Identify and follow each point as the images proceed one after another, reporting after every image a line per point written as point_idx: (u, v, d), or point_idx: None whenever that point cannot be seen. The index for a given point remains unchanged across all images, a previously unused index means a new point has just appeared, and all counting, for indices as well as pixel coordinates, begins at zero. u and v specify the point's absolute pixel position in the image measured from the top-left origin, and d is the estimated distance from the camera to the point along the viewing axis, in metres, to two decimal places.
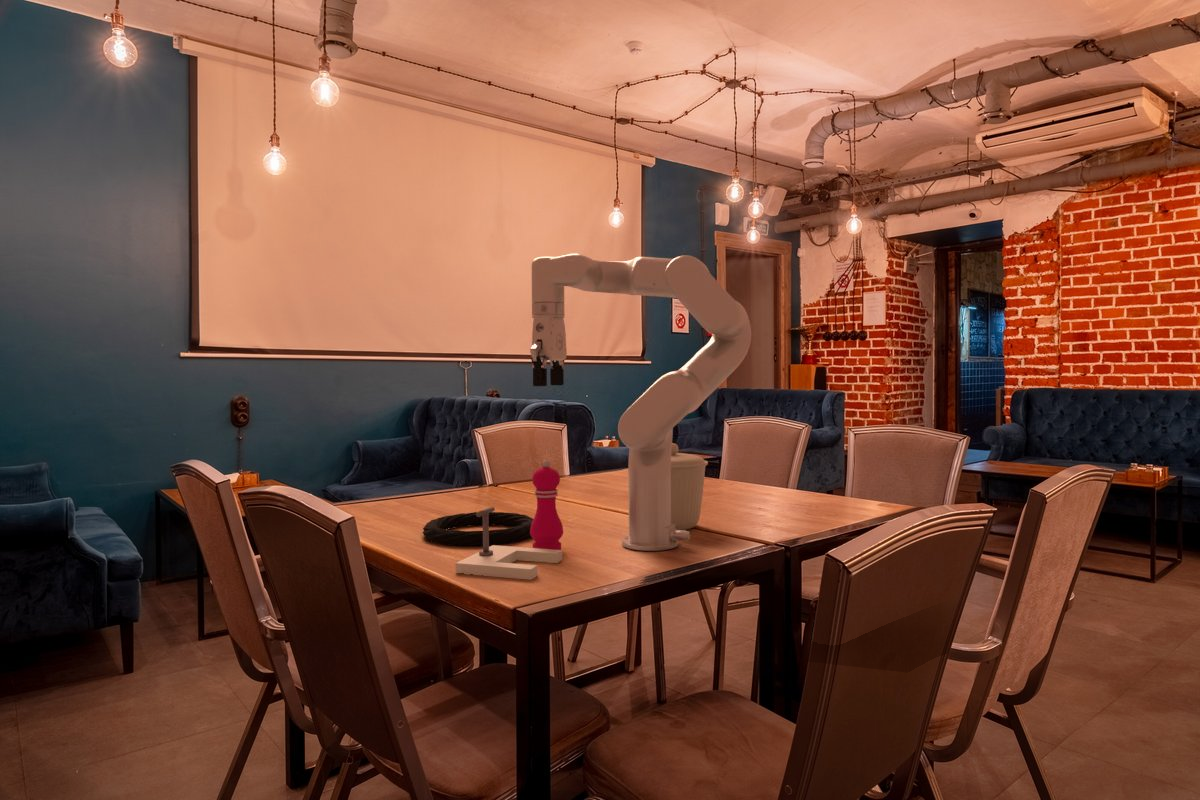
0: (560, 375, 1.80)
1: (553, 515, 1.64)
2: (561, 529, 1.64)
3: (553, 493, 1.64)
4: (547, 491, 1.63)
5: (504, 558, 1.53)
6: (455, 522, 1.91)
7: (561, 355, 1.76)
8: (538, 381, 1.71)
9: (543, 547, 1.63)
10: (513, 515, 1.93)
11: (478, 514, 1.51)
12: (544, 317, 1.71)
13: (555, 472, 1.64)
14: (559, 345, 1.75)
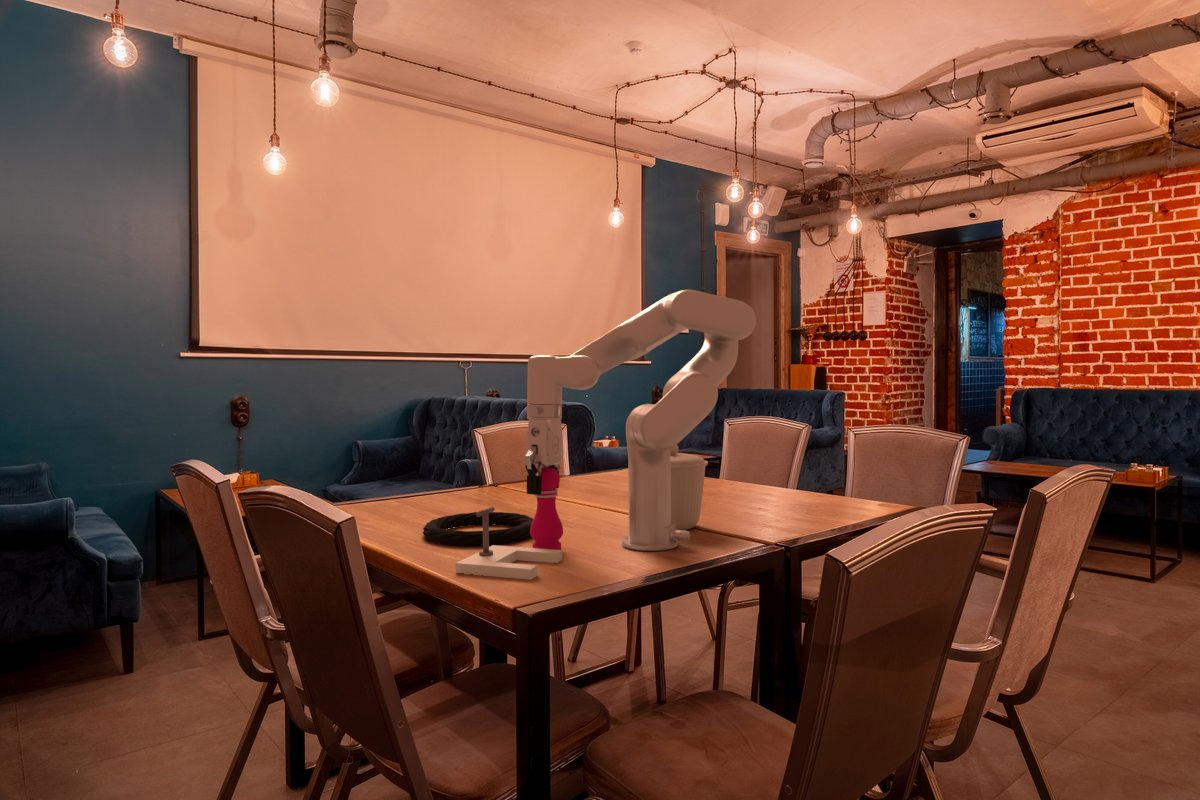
0: None
1: (553, 515, 1.64)
2: (561, 529, 1.64)
3: (553, 493, 1.64)
4: (547, 491, 1.63)
5: (504, 558, 1.53)
6: (455, 522, 1.91)
7: (557, 459, 1.65)
8: (532, 489, 1.60)
9: (543, 547, 1.63)
10: (513, 515, 1.93)
11: (478, 514, 1.51)
12: (540, 421, 1.60)
13: (555, 472, 1.64)
14: (555, 449, 1.64)
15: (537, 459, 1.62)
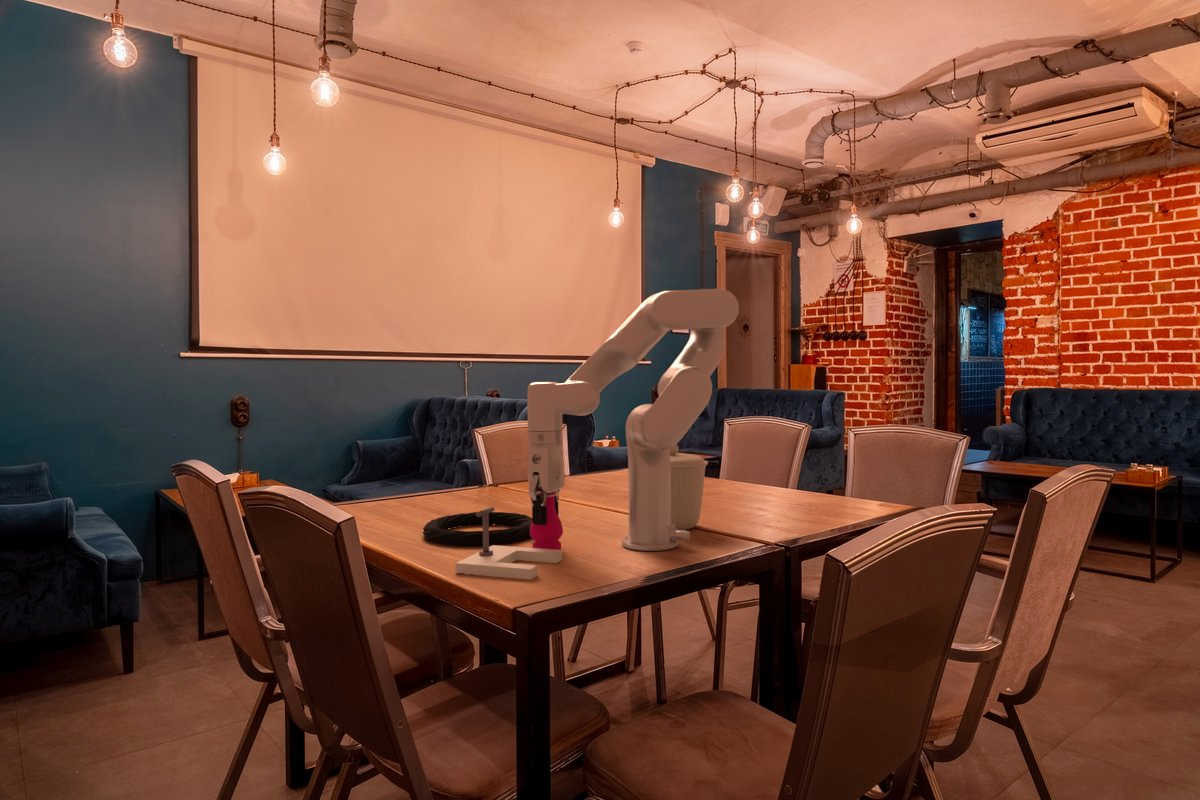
0: None
1: (552, 515, 1.64)
2: (561, 528, 1.64)
3: (552, 492, 1.64)
4: None
5: (504, 558, 1.53)
6: (455, 522, 1.91)
7: (559, 485, 1.65)
8: (538, 520, 1.61)
9: (543, 547, 1.63)
10: (513, 515, 1.93)
11: (478, 514, 1.51)
12: (541, 448, 1.60)
13: None
14: (557, 475, 1.64)
15: (539, 486, 1.62)
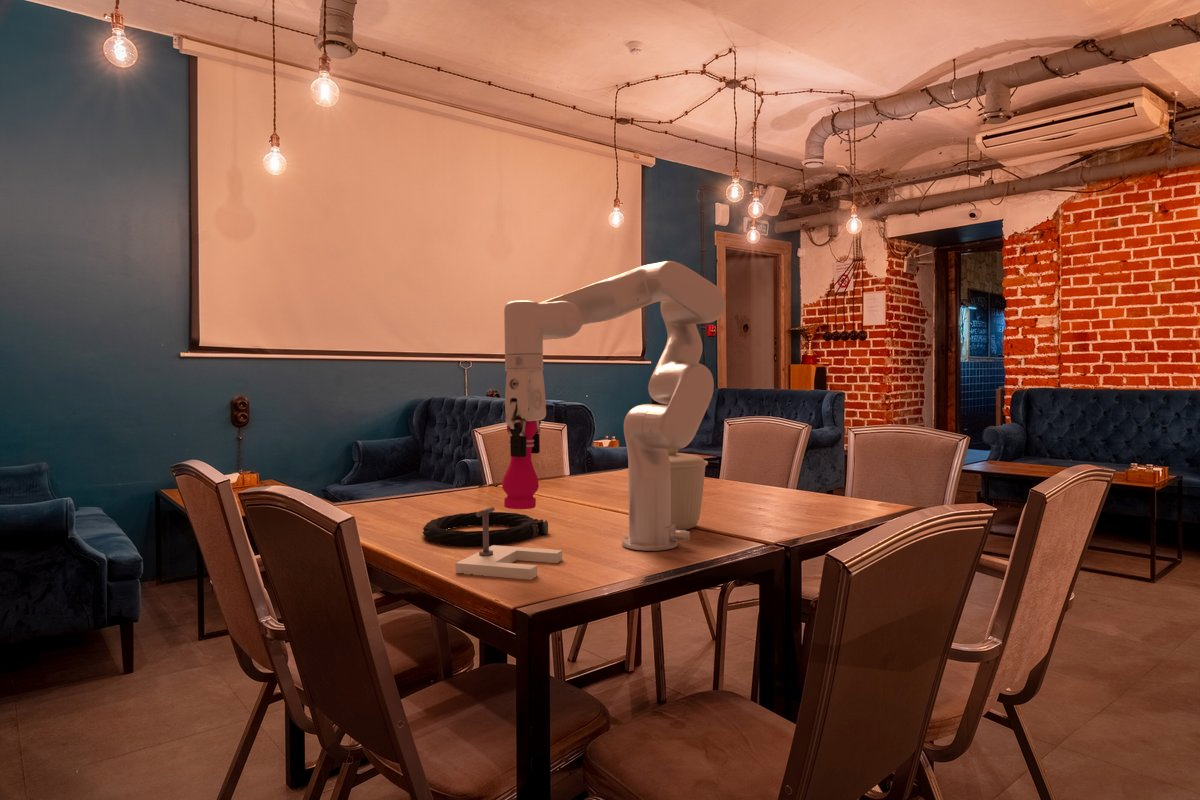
0: (535, 442, 1.53)
1: (528, 467, 1.50)
2: (536, 482, 1.50)
3: (529, 442, 1.50)
4: None
5: (504, 558, 1.53)
6: (455, 522, 1.91)
7: (540, 414, 1.51)
8: (516, 451, 1.47)
9: (515, 501, 1.49)
10: (513, 515, 1.93)
11: (478, 514, 1.51)
12: (519, 372, 1.46)
13: None
14: (537, 403, 1.50)
15: (517, 414, 1.48)
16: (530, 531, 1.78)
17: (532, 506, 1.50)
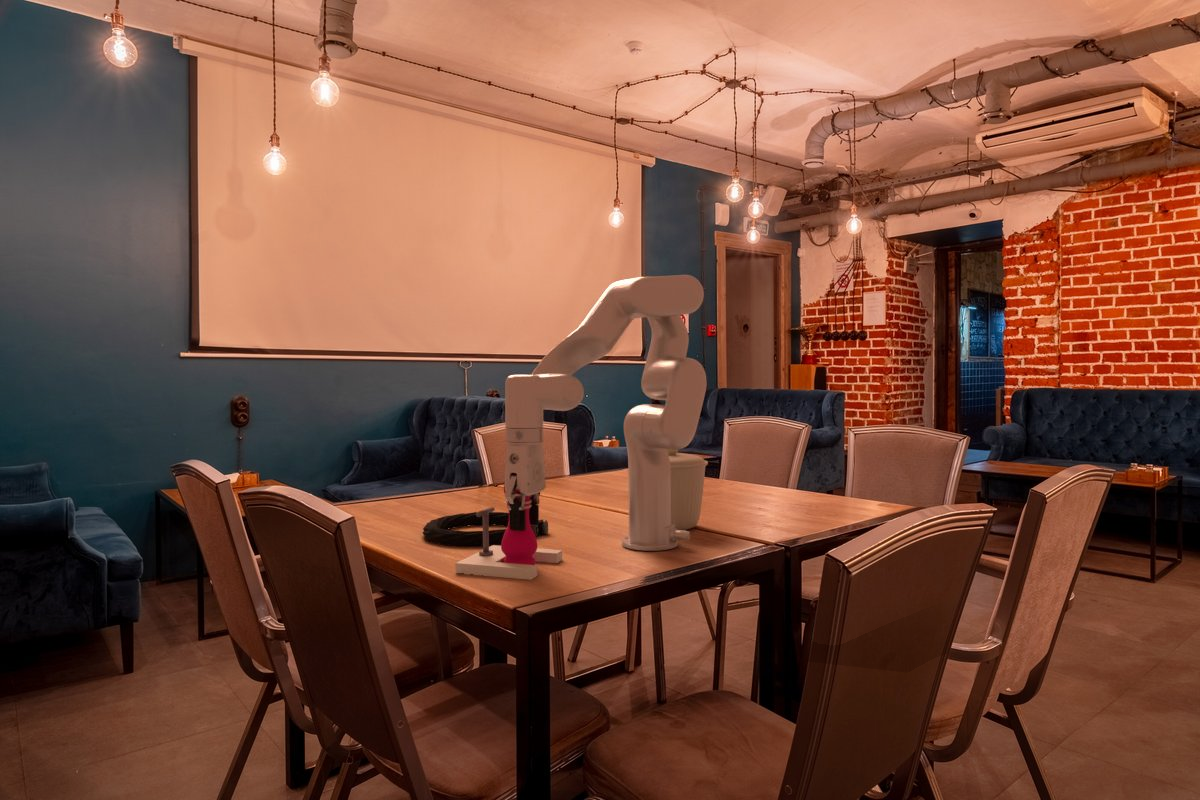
0: (535, 513, 1.54)
1: (526, 528, 1.50)
2: (535, 544, 1.51)
3: (526, 504, 1.50)
4: (519, 502, 1.49)
5: (504, 558, 1.53)
6: (455, 522, 1.91)
7: (539, 487, 1.51)
8: (515, 525, 1.48)
9: (515, 563, 1.49)
10: None
11: (478, 514, 1.51)
12: (519, 447, 1.47)
13: None
14: (537, 476, 1.51)
15: (517, 488, 1.48)
16: None
17: None
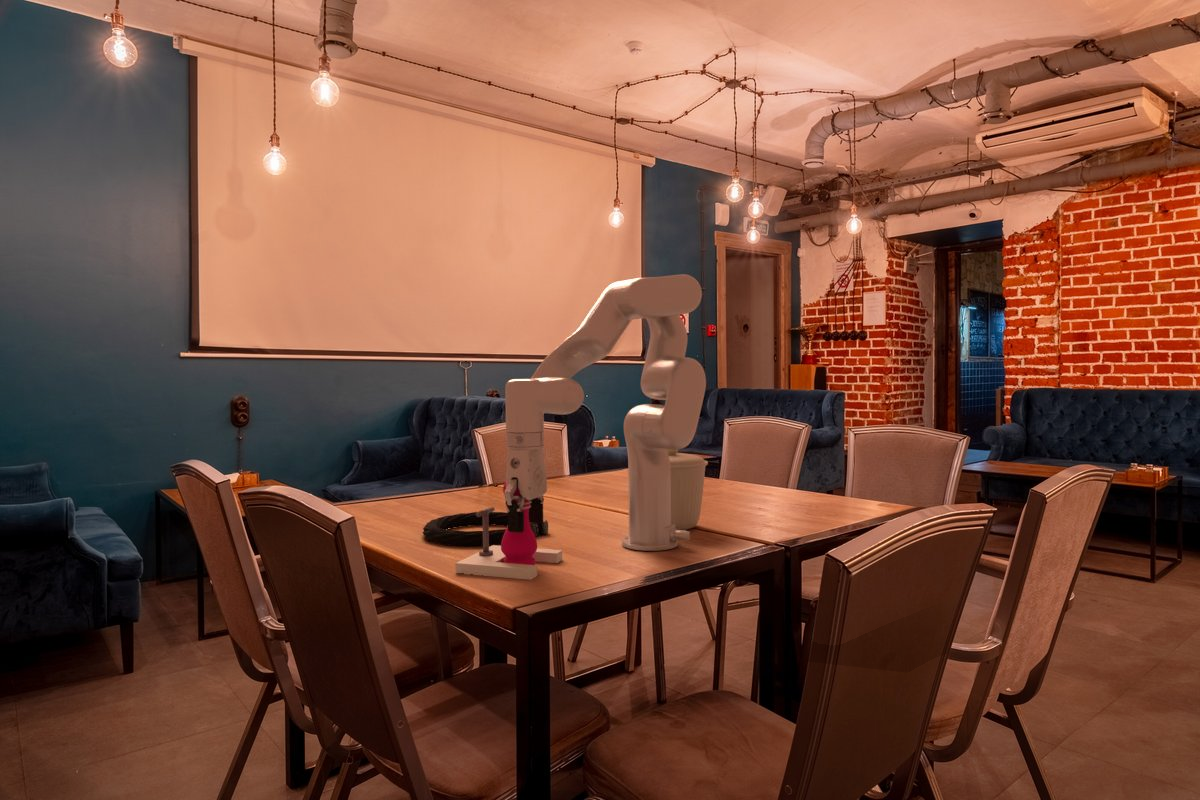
0: (539, 511, 1.55)
1: (525, 529, 1.50)
2: (535, 544, 1.50)
3: (526, 505, 1.50)
4: None
5: (504, 558, 1.53)
6: (455, 522, 1.91)
7: (540, 491, 1.52)
8: (514, 527, 1.46)
9: None
10: None
11: (478, 514, 1.51)
12: (520, 451, 1.47)
13: None
14: (538, 480, 1.51)
15: None
16: None
17: None
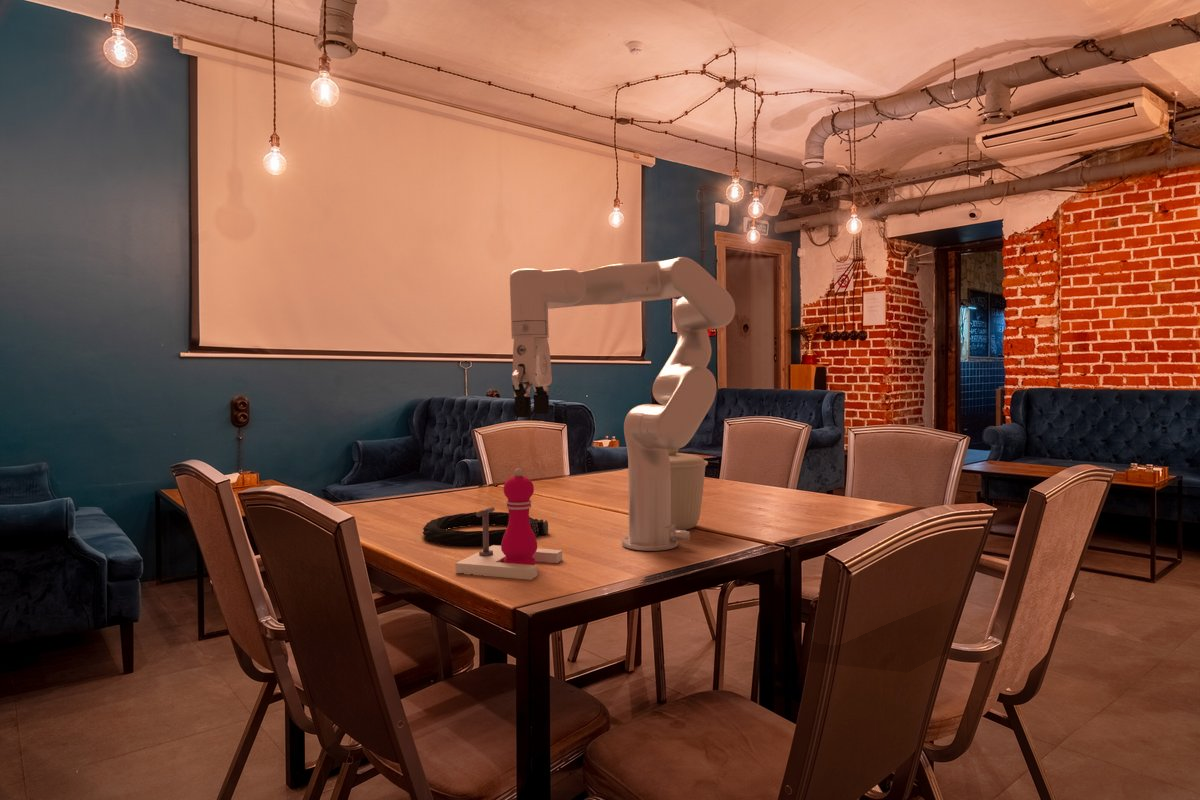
0: (545, 402, 1.59)
1: (526, 529, 1.50)
2: (535, 544, 1.50)
3: (526, 505, 1.50)
4: (519, 502, 1.49)
5: (504, 558, 1.53)
6: (455, 522, 1.91)
7: (546, 380, 1.55)
8: (521, 412, 1.49)
9: None
10: None
11: (478, 514, 1.51)
12: (526, 338, 1.50)
13: (528, 482, 1.50)
14: (544, 369, 1.54)
15: (525, 380, 1.51)
16: None
17: None
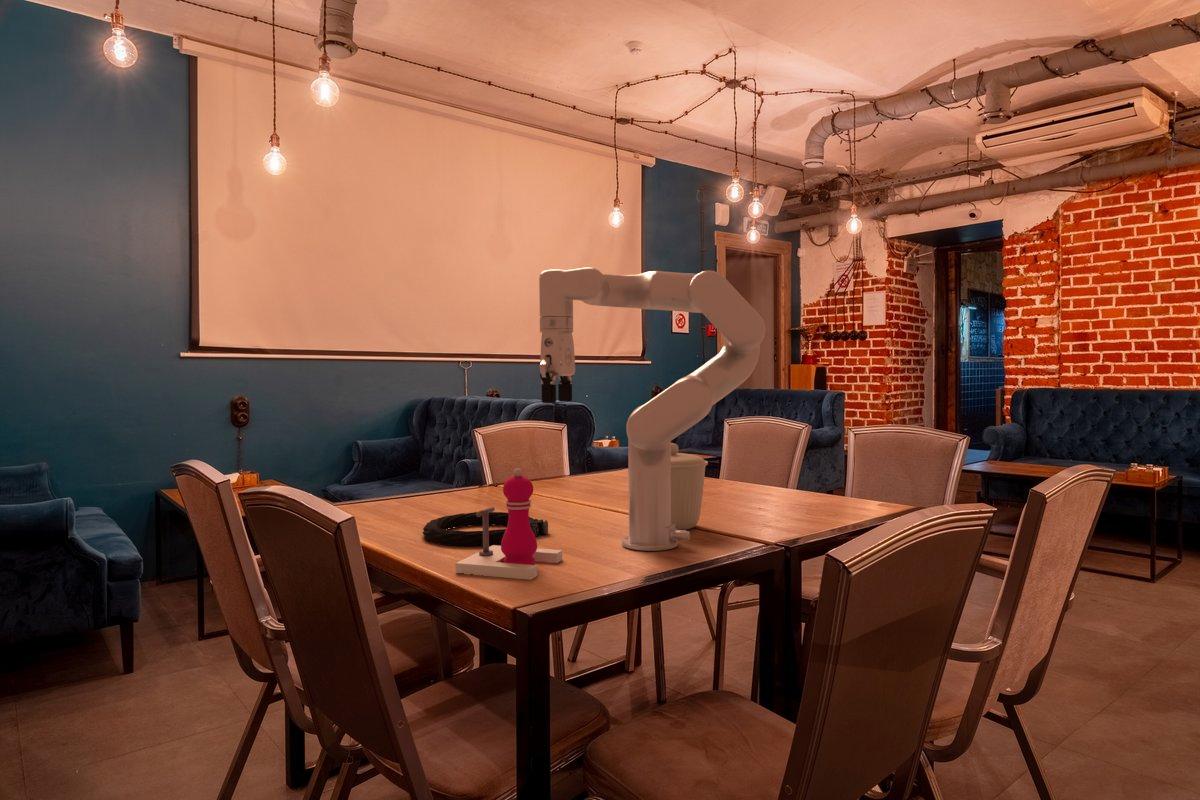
0: (568, 391, 1.75)
1: (525, 529, 1.50)
2: (535, 544, 1.50)
3: (526, 504, 1.50)
4: (519, 502, 1.49)
5: (504, 558, 1.53)
6: (455, 522, 1.91)
7: (570, 370, 1.71)
8: (547, 398, 1.66)
9: None
10: None
11: (478, 514, 1.51)
12: (553, 332, 1.66)
13: (528, 482, 1.50)
14: (568, 360, 1.70)
15: (551, 369, 1.68)
16: None
17: None
